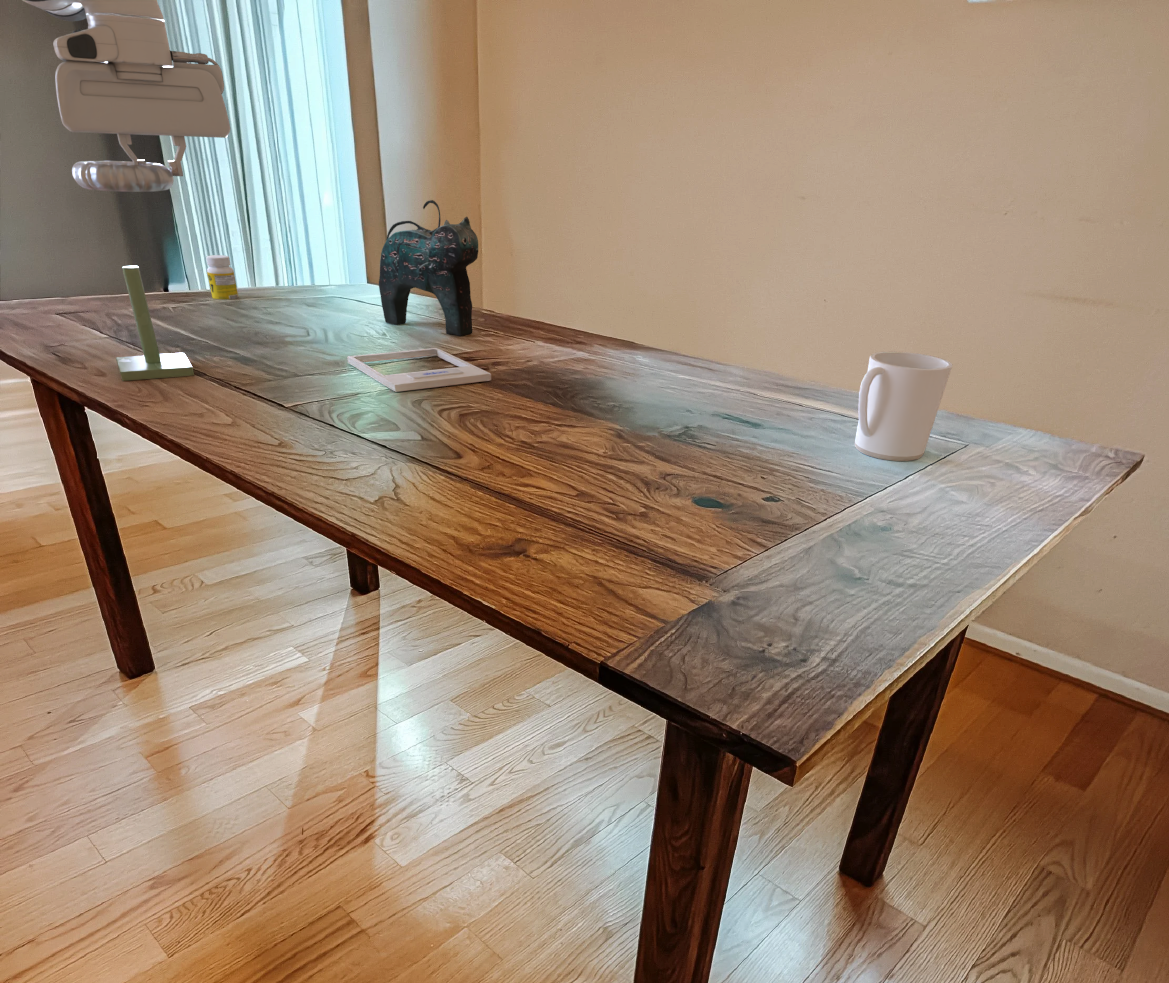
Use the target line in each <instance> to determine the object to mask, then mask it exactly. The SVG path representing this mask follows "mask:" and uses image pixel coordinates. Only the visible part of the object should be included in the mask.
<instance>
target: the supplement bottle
mask: <svg viewBox="0 0 1169 983" xmlns="http://www.w3.org/2000/svg"><path fill="white" fill-rule="evenodd" d="M205 259H206V264H207V266H208V267H207V269H206V274H207V279H208V283H209V289H210V293H211V298H212V299H214V300H234V299H238V298H239V292H238V286H237V282H236V276H235V271H234V269H233V268H232V266H231V260H230V256H229V255H223V254H212V255H211V254H210V255H207V256H205Z"/></svg>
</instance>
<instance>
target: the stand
mask: <svg viewBox="0 0 1169 983" xmlns="http://www.w3.org/2000/svg"><path fill="white" fill-rule="evenodd" d="M121 270H122V274H123V278H124V282H125V285H126V289H127V294H128V297H129V298H128V299H129V302H130V306H131V310H132V314H133V318H134V322H135V325H136V330H137V333H138V339H139V342H140V347H141V349H142V350H141V351H142V353H143V355H130V356H129V355H128V356H116V357H115V360H116V364H117V367H118V371H119V375H120V378H121V381H122V382H128V381H129V382H130V381H141V380H154V379H156V380H157V379H168V378H181V377H192V376H193V377H194V376H195V373H194V368H193V366H192V364H191V362H190V360H189V359H188V357H187V355H186V354H185V352H175V353H160V351H159V350H160V349H159V346H158V341H157V338H156V333H155V329H154V325H153V321H152V317H151V312H150V308H149V305H148V301H147V296H146V292H145V288H144V282H143V279H142V275H141V271H140V267H139V266H138V265H123V266H122V267H121Z"/></svg>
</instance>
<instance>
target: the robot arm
mask: <svg viewBox="0 0 1169 983" xmlns="http://www.w3.org/2000/svg"><path fill="white" fill-rule="evenodd" d="M21 1H22V2H24V3H26V4H28V5H31V6H33V7H35V8H36V9H37V8H38V9H40V10H43V11H44V12H45V13H46V14H47V13H48V15H50V16H52V17H54V18H56V19H59V20H62V21H66V22H79V21H84V20H85V19H86V22H87V28H86V29H83V30H82V29H75V30H73V31H72V32H71V33H67V34H65V35H61V36H58V37H56V38H55V39H54V40H53V49H54V53H55V55H56V56H57V58H58V59H59V60H61V61H62V62H60V63H59V64H58V65H57V67H56V69H55V72H54V74H55V75H54V81H55V82H54V84H55V93H56V100H57V106H58V111H59V116H60V121H61V124H62V125H63V127H64V128H65V129H66V130H68V131H69V132H71V133H84V134H85V133H89V134H111V135H112V134H113V135H115V134H116V135H117V140H118V143H119V146H120V147H121V148H122V150H123V151H124V153H126V155H127V156H128V157H129V159H130V160H132V161H131V162H133V165H146V162H147V161H146V160H145V159H139V158H138V157H137V155H136V154H135V153H134V151H133V150H132V149H131V148H130V146H129V145H133V142H132V137H131V135H136V136H137V135H141V136H142V135H143V136H164V137H165V136H166V137H169V136H170V137H171V140H172V141H171V142H172V145H173V146H175V147H177V148H176V152H175V154H174V156H173V157H174V158H173V160H170V159H169V160H167V161H166V162H167V166H168V168H169V170H170V171H171V173H172V175H173V177H184V171H183V167H182V160H183V158H184V155H185V152H186V149H187V143H186V138H185V137H191V138H192V137H194V138H195V137H196V138H222V139H225V138H227V137H228V136H229V135H230V133H231V124H230V121H229V115H228V111H227V107H226V105H225V100H224V97H223V94H224V91H225V81H224V75H223V71H222V69H221V67H220V65H219V64H218V62H217V61H215V60H214V59H212V58H211V57H209V56H208V54H205V53H202V52H201V53H200V52H197V53H191V52H185V51H178V50H171V49H170V44H169V39H168V33H167V27H166V23H165V18H164V15H163V13H162V11H161V8H160V5H159V3H158V0H21ZM209 63H211V64H209Z"/></svg>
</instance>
